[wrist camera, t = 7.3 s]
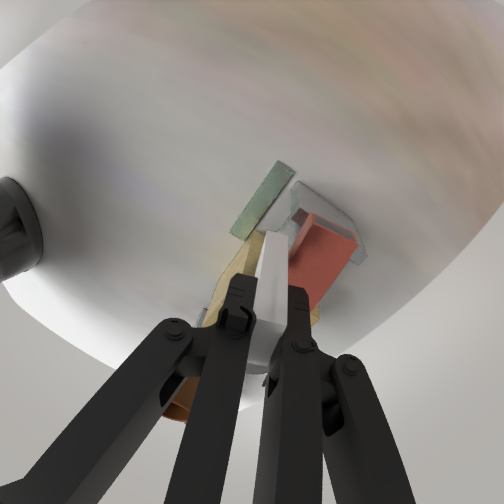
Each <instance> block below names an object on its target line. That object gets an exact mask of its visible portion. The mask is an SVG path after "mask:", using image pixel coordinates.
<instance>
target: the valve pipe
mask: <svg viewBox="0 0 504 504" xmlns="http://www.w3.org/2000/svg"><path fill="white" fill-rule="evenodd" d="M293 173H294V171H293V170H292V169H290V168H289V167H287V166H286V165H284V164H283V163H281V162H279V161H277V162H276V164H275V165H274V167H273V168H272V170H271V171H270V173H269V174H268V175H267V177H266V178H265V180H264V181H263V183H262V184H261V186H260V187H259V189H258V190H257V191H256V193H255V194H254V196H253V197H252V199H251V200H250V202H249V203H248V205H247V206H246V208H245V209H244V211H243V212H242V214H241V215H240V217H239V218H238V220H237V221H236V223H235V224H234V226H233V227H232V229H231V230H230V232H229V233H231V234H232V235H234V236H236V237H237V238H239V239H241V240H242V241H245V239H246V238H247V236H248V235H249V234H250V232H251V231H252V229H253V228H254V227H255V225H256V224H257V223H258V221H259V220H260V218H261V217H262V216H263V214H264V213H265V211H266V210H267V209H268V207H269V206H270V204H271V203H272V202H273V200H274V199H275V198H276V196H277V195H278V193H279V192H280V191H281V189H282V188H283V187H284V185H285V184H286V182H287V181H288V180H289V178H290V177H291V176H292V174H293ZM310 212H313V213H315V214H317V215H319V216H321V217H323V218H325V219H327V220H330V221H332V222H334V223H336V224H338V225H340V226H342V227H344V228H346V229H348V230H350V231H352V232H353V233H354V235H355V238H356V240H357V243H358V247H357V248H356V250H355V251H354V253H353V254H352V256H351V257H350V260H351V261H353V262H354V263H355V264H357V265H359V264H360V263H361V262H362V261H363V260H364V259H365V258H366V257H367V254H366V251H365V249H364V246H363V244H362V242H361V239H360V237H359V235H358V232H357V230H356V228H355V226H354V223H353V221H352V220H351V219H350V218H349V217H348V216H346V215H345V214H344V213H342V212H341V211H340V210H338V209H337V208H336V207H334V206H333V205H331V204H330V203H329V202H327V201H326V200H325V199H323V198H322V197H320V196H319V195H318V194H316V193H315V192H313V191H312V190H311V189H309V188H308V187H306V186H305V185H303V184H302V183H300V182H299V181H297V182H296V184H295V185H294V186H293V188H292V189H291V215H290V216H289V217H288V218H287V220H286V221H285V222H284V224H283V225H282V226H281V227H280V229H279V230H278V231H277V233H280V234H284V235H288V252H289V250H290V248H291V246H292V244H293V243H294V241H295V239H296V237H297V235H298V234H299V232H300V230H301V228H302V226H303V224H304V223H305V221H306V219H307V217H308V215H309V213H310ZM264 240H265V236H264V235H262V234H260V233H259V232H257V231H256V230H254V231H253V233H252V234H251V235H250V237H249V238H248V240H247V241H246V242H245V244H244V245H243V247H242V248H241V249H240V251H239V252H238V253H237V255H236V256H235V258H234V259H233V260H232V262H231V263H230V265H229V266H228V267H227V269H226V270H225V272H224V273H223V274H222V276H221V277H220V279H219V281H218V284H217V286H216V289H215V291H214V294H213V297H212V299H211V302H210V305H209V307H208V310H206V309H203V310H202V311H201V313H200V315H199V318H198V320H197V323H196V325H195V328H201V327H208V326H211V325H213V324H214V323H215V322H216V321H217V317H218V312H219V310H220V308H221V307H222V306H223V303H224V300H225V296H226V293H227V290H228V286H229V283H230V279H231V278H232V277H233V276H234V275H235V274H236V273H241V274H245V275H249V276H253V277H255V273H256V268H257V265H258V261H259V257H260V254H261V250H262V247H263V243H264ZM318 320H320V316H319V303H317V305H316V306H315V307H314V309H313V310H312V311H311V313H310V321H311V326H313V325H314V324H315V323H316V322H317V321H318Z"/></svg>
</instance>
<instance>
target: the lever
mask: <svg viewBox="0 0 504 504" xmlns="http://www.w3.org/2000/svg"><path fill="white" fill-rule="evenodd" d="M357 247H358V243H357V240H356V238H355V235H354V233H353V232H352V231H350V230H348V229H346V228H344V227H342V226H340V225H338V224H336V223H334V222H332V221H330V220H327V219H325V218H323V217H321V216H319V215H317V214H315V213H313V212H310V213H309V215H308V217H307V219H306V221H305V223H304V224H303V226H302V228H301V230H300V232H299V234H298V235H297V237H296V239H295V241H294V243H293V244H292V246H291V248H290V250H289V252H288V284H289V285H293V286H297V287H302V288H304V289H305V290H306V292H307V294H308V296H309V306H310V313H311V311H312V310H313V309H314V307H315V306H316V305H317V303H318V302H319V301H320V299H321V298H322V297H323V295H324V294H325V293H326V291H327V290H328V288H329V287H330V286H331V284H332V283H333V282H334V280H335V279H336V277H337V276H338V274H339V273H340V272H341V270H342V269H343V267H344V266H345V264H346V263H347V261H348V260H349V259H350V257H351V256H352V254H353V253H354V251H355V250H356V248H357ZM269 368H270V362H269V364H268V366H262V365H257V364H252V363H248V362H247V365H246V370H245V373H248V374H264V373H267V372H269Z"/></svg>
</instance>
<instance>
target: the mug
mask: <svg viewBox="0 0 504 504" xmlns="http://www.w3.org/2000/svg"><path fill="white" fill-rule="evenodd" d="M199 380H200V377H188V378H187V380H186V381H185V383H184V384H183V386H182V387H181V389H180V390H179V391H178V393H177V394H176V396H175V397H174V399H173V400H172V401H171V403H170V404H169V406H168V407H167V409H166V410H165V411H164V413H163V414H162V416H163V417H166V418H168V419H171V420H175V421H180V422H185V424H187V420H188V417H189V413H190V410H191V407H192V403H193V400H194V397H195V393H196V390H197V386H198V383H199Z"/></svg>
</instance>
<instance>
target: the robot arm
mask: <svg viewBox="0 0 504 504" xmlns="http://www.w3.org/2000/svg"><path fill="white" fill-rule="evenodd" d="M42 251H43V243H42V235H41V230H40V226H39V223H38V220H37V217H36V214H35V212H34V209H33V207H32V205H31V203H30V201H29V199H28V198H27V196H26V194H25V193H24V191H23V190H22V189H21V187H20V186H19V185H18V184H17V183H16V182H15V181H13V180H12V179H10V178H6V177H3V178H1V179H0V283H1V282H2V281H5V280H7V279H9V278H11V277H14V276H16V275H18V274H20V273H22V272H26V271H28V270H30V269H31V268H32V267H33V266H34V265H35V264H36V263H38V262H39V260H40V259H41V256H42ZM247 362H248V363H252V364H257V365H262V366H268V364H269V362H270V368H269V372H268V374H267V376H266V378H265V380H264V382H263V384H262V386H263V387H265V385H266V388H265V398H264V409H263V419H262V428H261V437H260V446H259V455H258V465H257V473H256V481H255V488H254V497H253V504H322V477H323V474H322V473H323V454H324V457H325V461H326V465H327V469H328V473H329V476H330V480H331V484H332V488H333V492H334V496H335V499H336V503H337V504H416V503H415V499H414V496H413V493H412V490H411V486H410V483H409V480H408V477H407V475H406V471H405V468H404V465H403V462H402V460H401V457H400V454H399V451H398V449H397V446H396V443H395V440H394V438H393V435H392V432H391V430H390V427H389V424H388V422H387V419H386V417H385V414H384V412H383V409H382V407H381V404H380V402H379V399H378V397H377V395H376V392H375V390H374V387H373V385H372V383H371V380H370V378H369V376H368V373H367V371H366V369H365V366H364V365H363V363H362V362H361V361H360V360H359V359H358V358H357V357H355V356H353V355H351V354H343V355H340V356H339V357H338V358H337V359H336V358H334V357H332V356H330V355H327V354H325V353H323V352H322V351H320V350H319V349H318V346H317V343H316V342H315V340H314V339H313V338H312V336H311V321H310V306H309V296H308V294H307V292H306V290H305V289H304V288H302V287H297V286H293V285H289V284H288V235H284V234H280V233H276V232H272V231H268V230H267V232H266V236H265V240H264V243H263V247H262V250H261V254H260V257H259V261H258V265H257V268H256V273H255V277H253V276H249V275H245V274H241V273H236V274H235V275H234V276H233V277H232V278H231V279H230V283H229V286H228V290H227V293H226V296H225V300H224V303H223V306H222V307H221V308H220V310H219V312H218V317H217V321H216V322H215V323H214V324H213V325H211V326H208V327H201V328H192V327H191V326H190V324H189V323H187V322H186V321H185V320H182V319H179V318H168V319H165V320H163V321H162V322H160V323H159V324H158V325H157V326H156V327H155V328H154V329H153V330H152V332H151V333H150V334H149V335H148V336H147V337H146V338H145V339H144V340H143V341H142V342H141V344H140V345H139V346H138V347H137V348H136V349H135V350H134V351H133V352H132V353H131V355H130V356H129V357H128V358H127V359H126V360H125V361H124V362H123V363H122V364H121V366H120V367H119V368H118V369H117V370H116V371H115V372H114V373H113V374H112V376H111V377H110V378H109V379H108V380H107V381H106V382H105V383H104V385H103V386H102V387H101V388H100V389H99V390H98V391H97V393H96V394H95V395H94V396H93V397H92V398H91V399H90V400H89V401H88V403H87V404H86V405H85V406H84V407H83V408H82V410H81V411H80V412H79V413H78V414H77V415H76V416H75V418H74V419H73V420H72V421H71V422H70V423H69V424H68V426H67V427H66V428H65V429H64V430H63V431H62V433H61V434H60V435H59V436H58V437H57V439H56V440H55V441H54V442H53V443H52V444H51V446H50V447H49V448H48V449H47V450H46V452H45V453H44V454H43V455H42V456H41V457H40V459H39V460H38V461H37V462H36V464H35V465H34V466H33V467H32V468H31V470H30V471H29V472H28V473H27V474H26V476H25V477H24V478H22V479H20V480H17V481H15V482H12V483H9V484H7V485H4V486H1V487H0V504H97V503H98V502H99V500H100V499H101V498H102V497H103V495H104V494H105V493H106V491H107V490H108V489H109V487H110V486H111V485H112V483H113V482H114V481H115V479H116V478H117V477H118V475H119V474H120V473H121V471H122V470H123V468H124V467H125V466H126V464H127V463H128V462H129V460H130V459H131V458H132V456H133V455H134V453H135V452H136V451H137V449H138V448H139V446H140V445H141V444H142V442H143V441H144V439H145V438H146V437H147V435H148V434H149V432H150V431H151V430H152V428H153V427H154V426H155V424H156V423H157V421H158V420H159V418H160V417H161V416H162V414H163V413H164V411H165V410H166V409H167V407H168V406H169V404H170V403H171V401H172V400H173V399H174V397H175V396H176V394H177V393H178V391H179V390H180V389H181V387H182V386H183V384H184V383H185V381H186V380H187V378H188V377H200V380H199V383H198V386H197V390H196V393H195V397H194V400H193V403H192V407H191V410H190V413H189V417H188V420H187V424H186V427H185V430H184V434H183V438H182V441H181V444H180V448H179V452H178V455H177V458H176V462H175V465H174V469H173V472H172V476H171V479H170V483H169V486H168V490H167V494H166V497H165V501H164V504H220V501H221V496H222V491H223V486H224V481H225V476H226V471H227V466H228V461H229V456H230V450H231V446H232V440H233V435H234V430H235V425H236V419H237V414H238V409H239V403H240V398H241V392H242V387H243V381H244V376H245V370H246V365H247Z"/></svg>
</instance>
